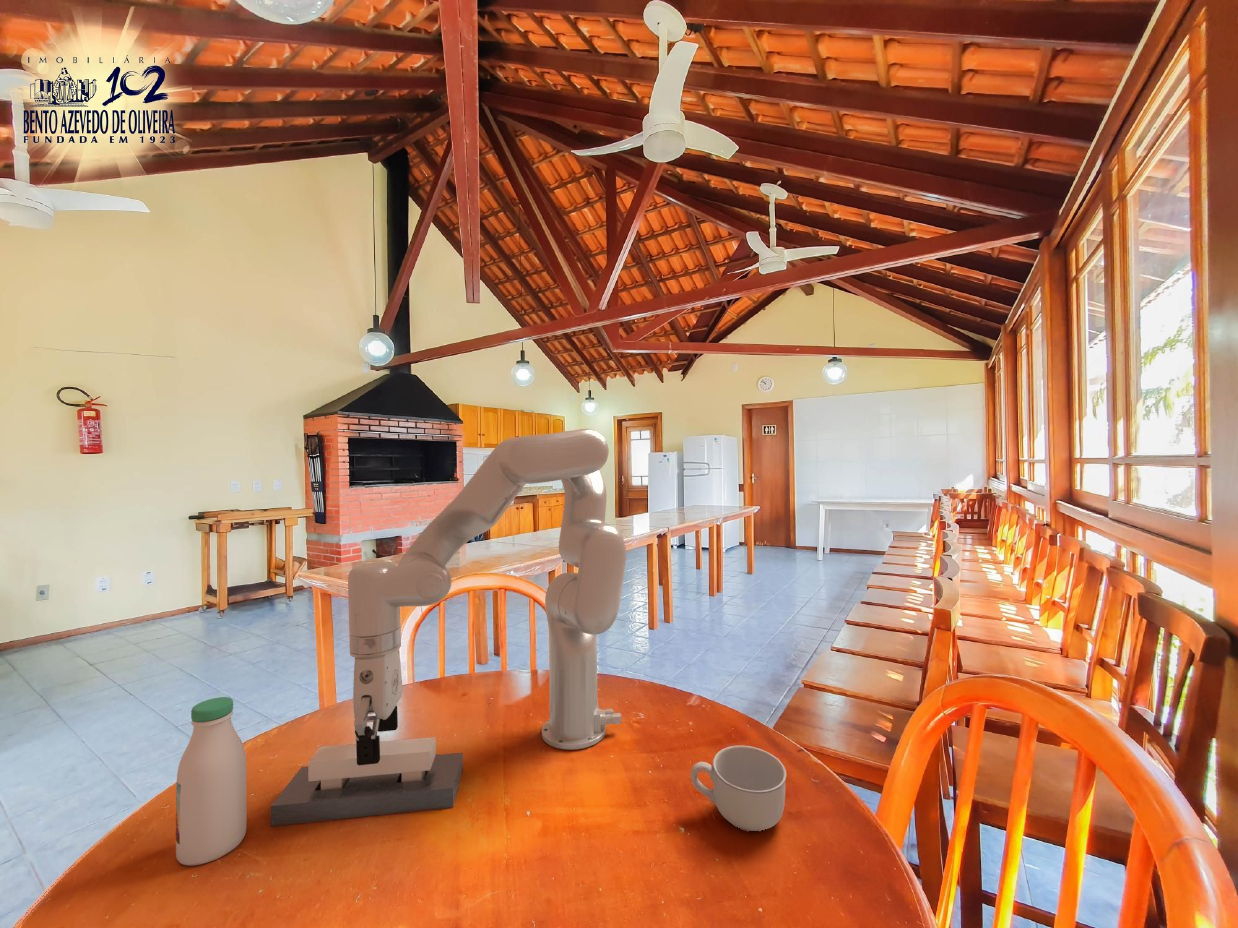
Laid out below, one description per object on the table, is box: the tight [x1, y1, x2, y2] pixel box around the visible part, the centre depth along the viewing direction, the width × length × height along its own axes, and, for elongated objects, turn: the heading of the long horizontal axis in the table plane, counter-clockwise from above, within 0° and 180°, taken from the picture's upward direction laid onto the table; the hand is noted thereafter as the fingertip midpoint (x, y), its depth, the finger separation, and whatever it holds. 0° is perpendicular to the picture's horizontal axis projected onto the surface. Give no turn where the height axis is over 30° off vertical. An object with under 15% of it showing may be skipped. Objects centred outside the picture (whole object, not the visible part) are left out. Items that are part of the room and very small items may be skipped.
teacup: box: [690, 745, 787, 832], centre depth 77 cm, size 14×11×8 cm
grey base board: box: [269, 752, 464, 827], centre depth 82 cm, size 26×10×3 cm, turn 99°
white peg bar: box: [307, 736, 437, 790], centre depth 82 cm, size 18×4×8 cm, turn 99°
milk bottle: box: [175, 696, 248, 867], centre depth 71 cm, size 8×8×20 cm
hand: (378, 745), depth 82 cm, fingers open, 9 cm apart
